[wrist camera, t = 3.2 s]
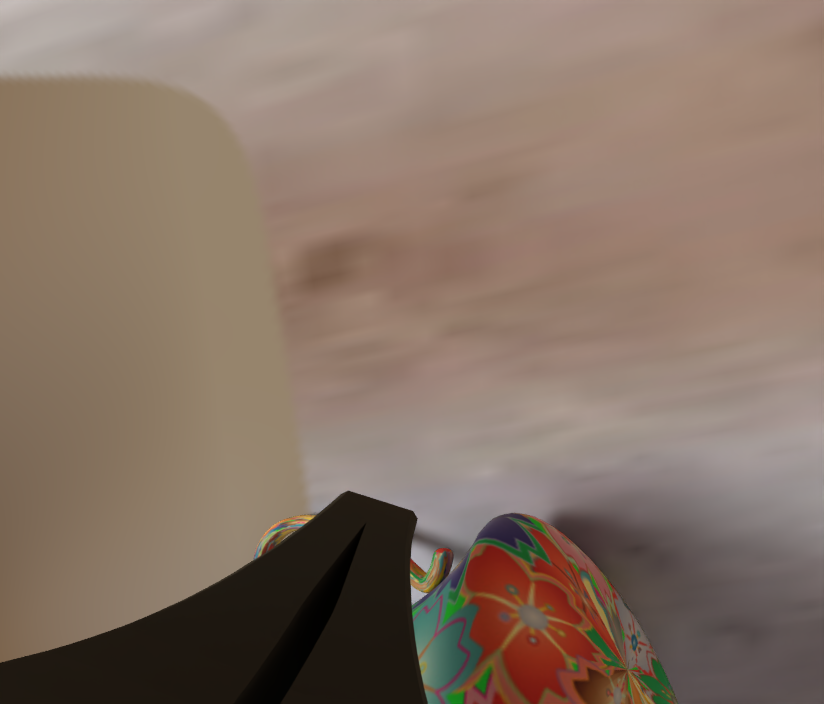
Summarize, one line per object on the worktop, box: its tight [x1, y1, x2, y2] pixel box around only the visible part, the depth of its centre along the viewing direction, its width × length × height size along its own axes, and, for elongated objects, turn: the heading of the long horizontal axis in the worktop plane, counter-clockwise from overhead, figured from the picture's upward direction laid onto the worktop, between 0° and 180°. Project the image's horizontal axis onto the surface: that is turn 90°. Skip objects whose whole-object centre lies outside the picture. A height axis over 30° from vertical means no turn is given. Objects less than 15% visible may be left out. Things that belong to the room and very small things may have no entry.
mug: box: [254, 513, 678, 704], centre depth 18 cm, size 12×9×11 cm
